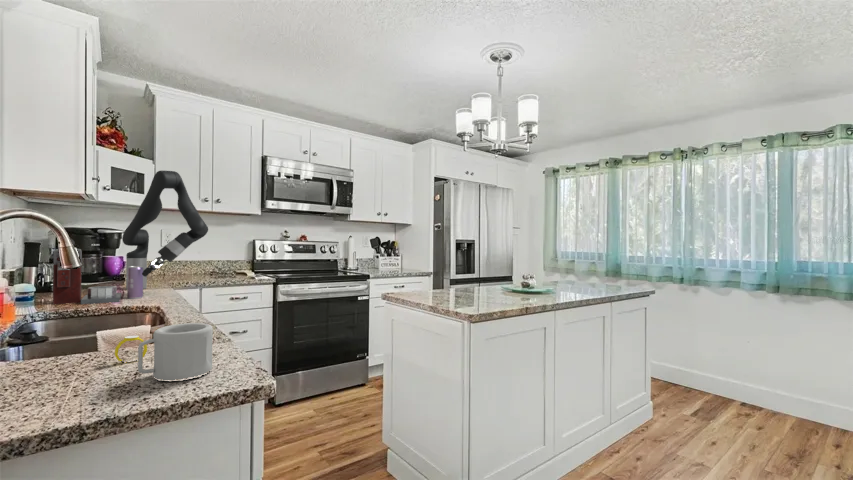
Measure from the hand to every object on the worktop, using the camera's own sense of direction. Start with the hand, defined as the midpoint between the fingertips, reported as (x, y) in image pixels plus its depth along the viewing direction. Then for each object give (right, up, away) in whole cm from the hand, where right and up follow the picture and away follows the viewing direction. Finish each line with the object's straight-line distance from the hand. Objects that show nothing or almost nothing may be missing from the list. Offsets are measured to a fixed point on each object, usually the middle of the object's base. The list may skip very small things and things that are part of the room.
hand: (143, 274), depth 189 cm
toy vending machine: (-21, -11, -17) cm, 29 cm away
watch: (+66, -12, -96) cm, 118 cm away
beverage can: (-3, -11, -2) cm, 12 cm away
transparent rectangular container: (-12, -11, -10) cm, 19 cm away
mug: (+83, -12, -106) cm, 135 cm away
